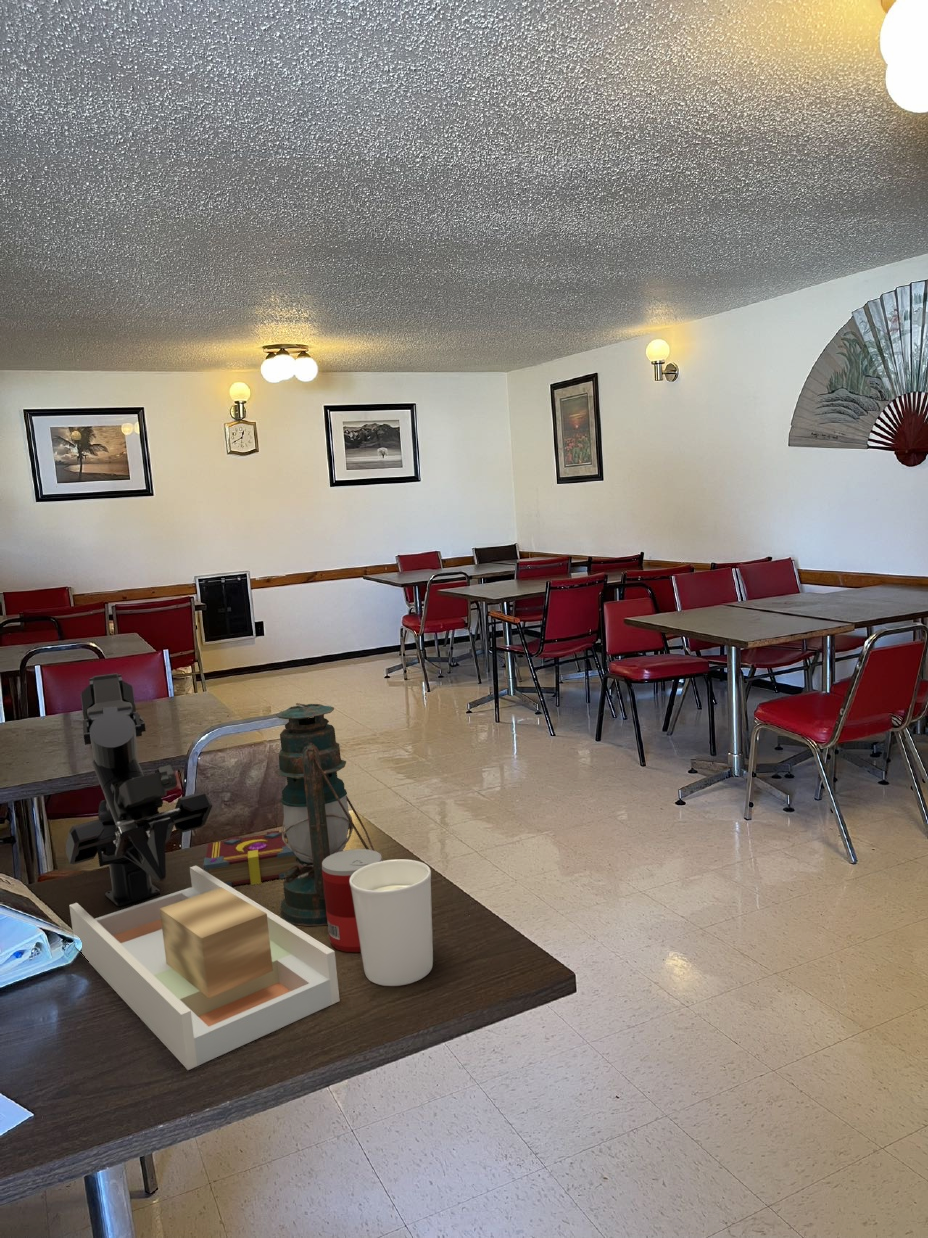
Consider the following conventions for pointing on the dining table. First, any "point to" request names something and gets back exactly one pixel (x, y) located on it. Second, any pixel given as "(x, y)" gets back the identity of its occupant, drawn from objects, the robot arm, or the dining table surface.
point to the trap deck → (179, 1010)
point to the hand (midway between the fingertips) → (162, 880)
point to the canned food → (343, 895)
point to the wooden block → (216, 941)
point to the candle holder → (394, 920)
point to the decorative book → (249, 859)
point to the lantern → (311, 809)
